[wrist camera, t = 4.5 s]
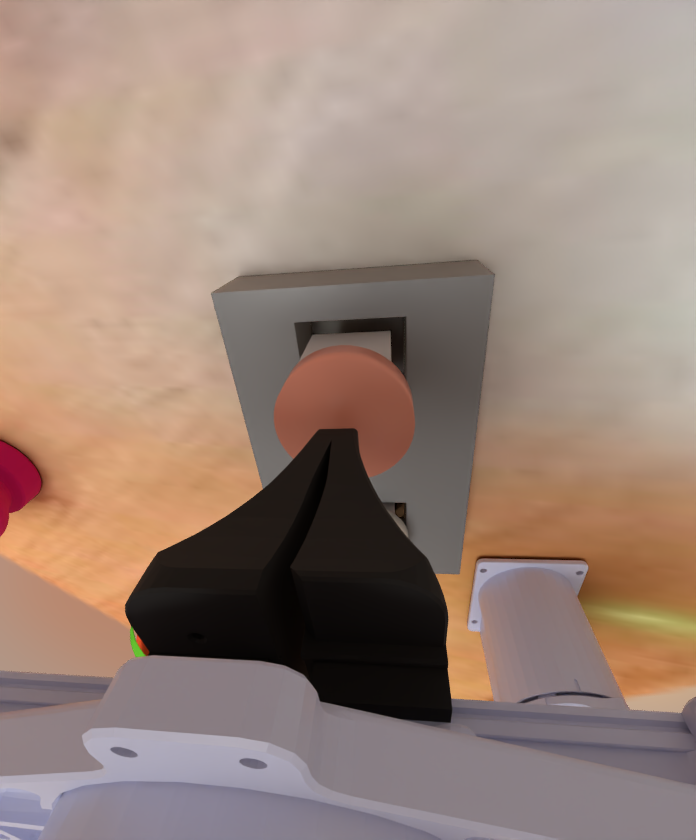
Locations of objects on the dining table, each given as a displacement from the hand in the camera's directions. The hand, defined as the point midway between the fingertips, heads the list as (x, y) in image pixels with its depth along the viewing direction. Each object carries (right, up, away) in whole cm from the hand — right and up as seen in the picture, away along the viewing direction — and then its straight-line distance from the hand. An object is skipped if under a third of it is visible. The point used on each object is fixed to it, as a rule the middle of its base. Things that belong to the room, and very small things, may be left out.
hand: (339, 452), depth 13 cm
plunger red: (+1, +4, +5) cm, 6 cm away
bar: (+1, +1, +11) cm, 11 cm away
